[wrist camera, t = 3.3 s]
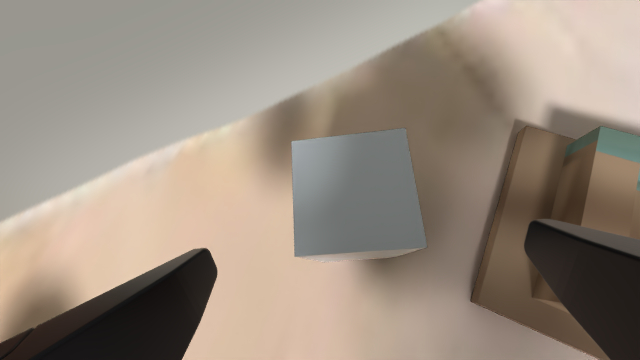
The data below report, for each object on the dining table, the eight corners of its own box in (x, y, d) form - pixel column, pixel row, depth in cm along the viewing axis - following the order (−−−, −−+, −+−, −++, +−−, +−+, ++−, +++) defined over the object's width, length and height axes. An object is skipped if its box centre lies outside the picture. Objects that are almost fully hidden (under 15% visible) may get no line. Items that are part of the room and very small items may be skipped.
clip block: (393, 257, 17) (427, 247, 9) (324, 262, 18) (294, 256, 9) (383, 191, 19) (405, 128, 10) (320, 197, 19) (291, 141, 11)
